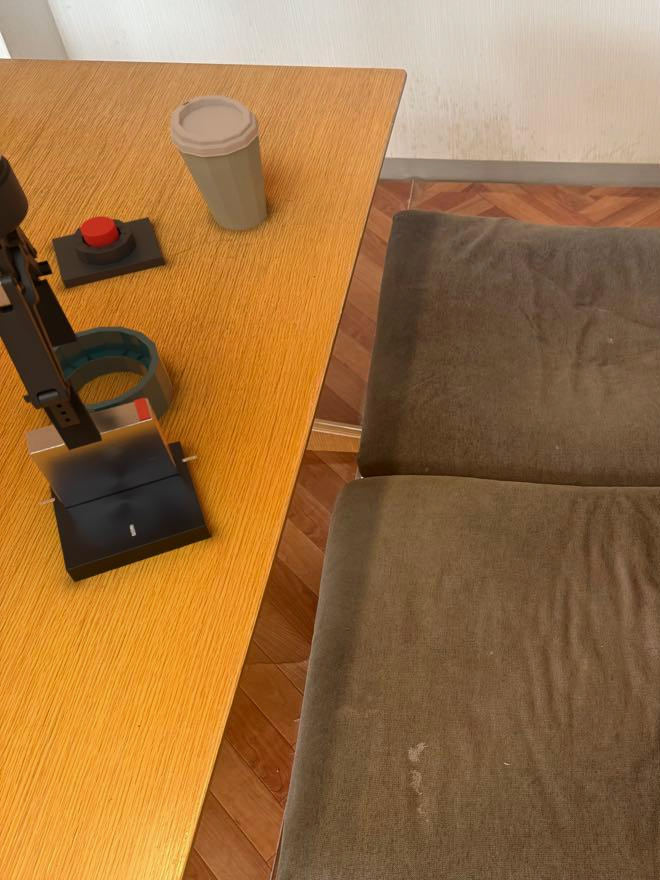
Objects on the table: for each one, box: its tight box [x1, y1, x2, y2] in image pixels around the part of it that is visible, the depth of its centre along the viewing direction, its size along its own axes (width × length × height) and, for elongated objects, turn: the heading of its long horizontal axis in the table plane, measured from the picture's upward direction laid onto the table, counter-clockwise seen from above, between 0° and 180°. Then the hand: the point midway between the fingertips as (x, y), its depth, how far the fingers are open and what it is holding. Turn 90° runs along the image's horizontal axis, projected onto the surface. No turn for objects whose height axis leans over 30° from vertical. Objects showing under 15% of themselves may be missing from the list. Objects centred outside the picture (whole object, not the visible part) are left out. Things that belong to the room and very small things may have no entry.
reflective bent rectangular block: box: [25, 398, 179, 508], centre depth 86 cm, size 11×3×8 cm, turn 115°
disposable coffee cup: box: [169, 94, 268, 231], centre depth 113 cm, size 11×11×15 cm
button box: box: [51, 216, 166, 290], centre depth 112 cm, size 12×9×4 cm
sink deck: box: [39, 440, 213, 583], centre depth 90 cm, size 15×17×3 cm
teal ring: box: [53, 325, 174, 421], centre depth 97 cm, size 13×13×6 cm
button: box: [79, 215, 119, 247], centre depth 110 cm, size 4×4×2 cm
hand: (73, 390), depth 79 cm, fingers open, 13 cm apart
